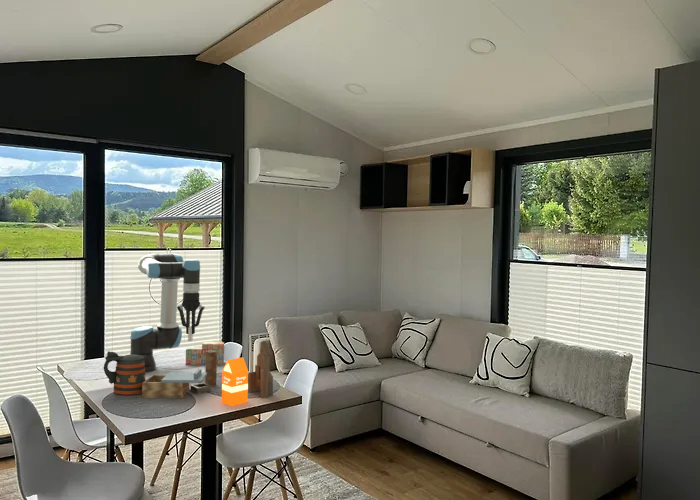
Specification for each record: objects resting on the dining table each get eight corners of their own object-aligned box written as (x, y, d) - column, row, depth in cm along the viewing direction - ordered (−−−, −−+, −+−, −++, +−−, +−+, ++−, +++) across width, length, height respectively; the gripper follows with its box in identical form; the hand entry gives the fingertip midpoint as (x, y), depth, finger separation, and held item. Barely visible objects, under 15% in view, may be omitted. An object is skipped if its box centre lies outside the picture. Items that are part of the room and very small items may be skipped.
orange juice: (247, 402, 244) (248, 358, 243) (231, 406, 237) (232, 361, 237) (237, 398, 249) (238, 355, 249) (221, 402, 243) (222, 358, 242)
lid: (161, 382, 247) (161, 374, 247) (169, 374, 261) (169, 367, 261) (200, 382, 248) (200, 374, 248) (206, 375, 262) (207, 367, 262)
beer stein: (106, 398, 244) (106, 355, 243) (101, 390, 256) (102, 349, 256) (149, 393, 254) (150, 351, 254) (143, 385, 267) (143, 345, 266)
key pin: (209, 386, 267) (209, 352, 267) (205, 384, 270) (205, 351, 270) (216, 385, 270) (216, 351, 270) (212, 383, 273) (213, 350, 272)
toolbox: (142, 397, 247) (142, 382, 246) (151, 389, 261) (151, 374, 260) (182, 397, 248) (182, 382, 248) (189, 389, 262) (189, 375, 262)
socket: (197, 393, 255) (197, 388, 255) (190, 390, 260) (190, 385, 260) (211, 390, 260) (211, 385, 260) (203, 387, 265) (203, 382, 265)
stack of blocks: (185, 365, 310) (185, 344, 309) (187, 362, 316) (187, 341, 316) (223, 364, 313) (223, 343, 312) (224, 362, 319) (224, 341, 319)
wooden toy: (245, 390, 261) (246, 340, 261) (257, 388, 266) (258, 338, 265) (262, 398, 250) (264, 345, 249) (274, 395, 254) (276, 343, 254)
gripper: (175, 292, 253) (174, 342, 253) (203, 293, 253) (202, 342, 254) (179, 290, 260) (178, 338, 261) (206, 291, 261) (205, 339, 262)
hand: (190, 340), depth 258 cm, fingers closed
